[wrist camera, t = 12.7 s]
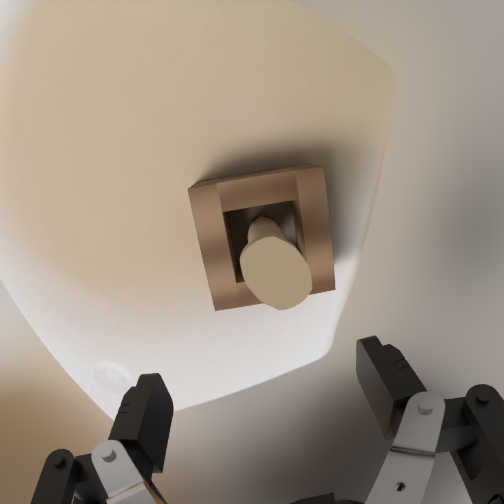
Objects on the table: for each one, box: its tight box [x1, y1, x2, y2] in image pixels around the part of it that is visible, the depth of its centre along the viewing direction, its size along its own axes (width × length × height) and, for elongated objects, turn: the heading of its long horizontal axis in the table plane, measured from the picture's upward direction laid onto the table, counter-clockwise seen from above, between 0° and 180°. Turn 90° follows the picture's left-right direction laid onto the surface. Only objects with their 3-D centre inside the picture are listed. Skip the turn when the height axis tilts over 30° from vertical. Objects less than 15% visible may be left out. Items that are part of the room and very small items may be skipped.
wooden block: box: [188, 164, 335, 311], centre depth 36 cm, size 14×14×6 cm
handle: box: [240, 216, 312, 310], centre depth 31 cm, size 5×6×15 cm
